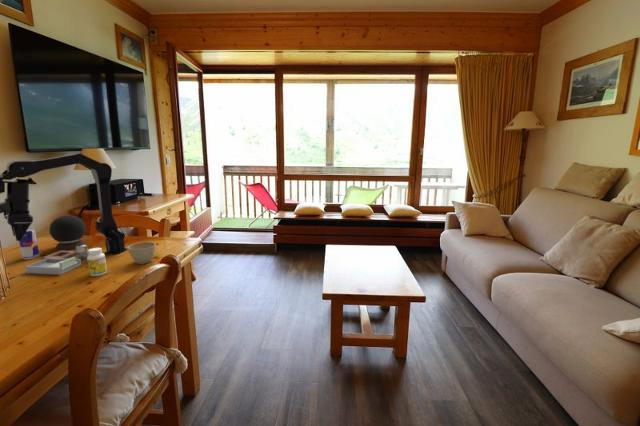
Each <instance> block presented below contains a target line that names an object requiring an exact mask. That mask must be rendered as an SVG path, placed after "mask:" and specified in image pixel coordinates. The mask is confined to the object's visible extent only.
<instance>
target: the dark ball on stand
mask: <svg viewBox="0 0 640 426" xmlns="http://www.w3.org/2000/svg"><path fill="white" fill-rule="evenodd" d="M48 231H49V234H50V236H51V238H52V239H53V240H54V241H56V242H57V244H56V246H55V250H56V251H73V250H77V249H76V246H78V245H83V244H86V245H87V243H86V241H85V240H83V239H82V238H83V237H85V234H86V231H87V227H86V224H85V222H84V221H83V220H82V219H81V218H80V217H78V216H76V215H73V214H72V215H71V214H70V215H69V214H67V215H61V216H59V217H57V218H55V219H54V220H53V221H52V222H51V223H50V226H49V230H48Z"/></svg>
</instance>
